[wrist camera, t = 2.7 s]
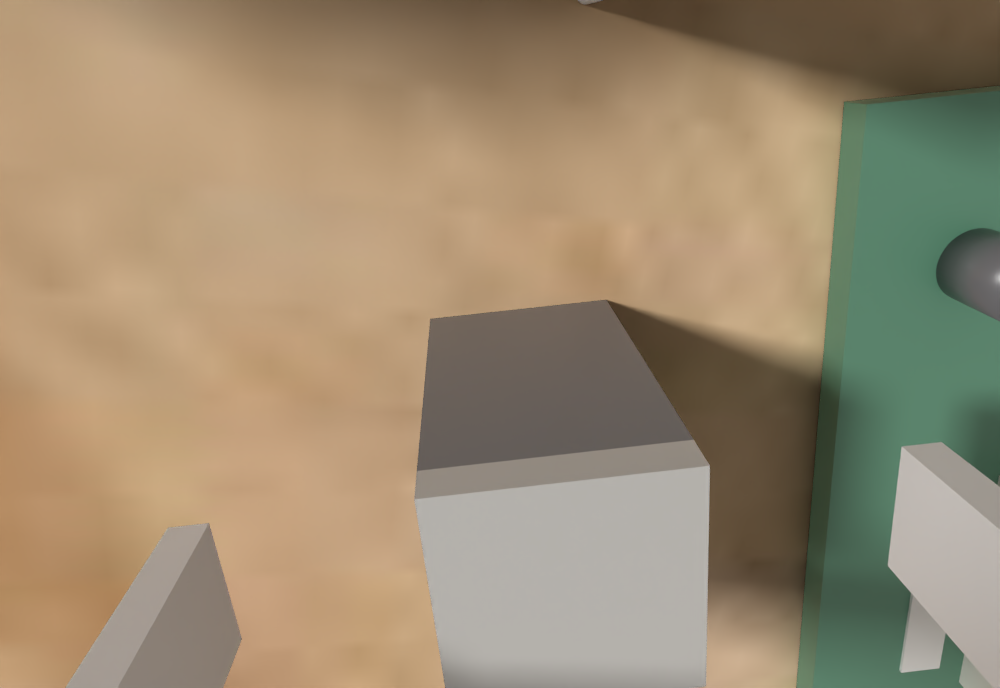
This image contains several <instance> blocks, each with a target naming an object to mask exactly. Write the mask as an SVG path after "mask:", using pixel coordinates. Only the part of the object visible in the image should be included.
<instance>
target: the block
mask: <svg viewBox="0 0 1000 688" xmlns="http://www.w3.org/2000/svg"><path fill="white" fill-rule="evenodd" d="M709 492H710V465H709V463H708V462H707V460H706V459H705V457H704V455H703V454H702V452H701V451H700V449H699V447H698V446H697V444H696V443H695V441H694V439H693V438H692V436H691V435H690V433H689V431H688V430H687V428H686V427H685V425H684V423H683V422H682V420H681V419H680V417H679V415H678V414H677V412H676V410H675V409H674V407H673V406H672V404H671V402H670V401H669V399H668V398H667V396H666V394H665V393H664V391H663V390H662V388H661V386H660V385H659V383H658V382H657V380H656V378H655V377H654V375H653V374H652V372H651V370H650V369H649V367H648V366H647V364H646V362H645V361H644V359H643V358H642V356H641V354H640V353H639V351H638V350H637V348H636V346H635V345H634V343H633V342H632V340H631V338H630V337H629V335H628V334H627V332H626V330H625V329H624V327H623V326H622V324H621V322H620V321H619V319H618V318H617V316H616V314H615V313H614V311H613V310H612V308H611V306H610V305H609V303H608V301H607V300H600V301H591V302H582V303H572V304H563V305H554V306H545V307H536V308H526V309H517V310H508V311H499V312H490V313H480V314H471V315H462V316H453V317H444V318H434V319H430V329H429V340H428V351H427V363H426V374H425V385H424V397H423V408H422V419H421V431H420V442H419V453H418V465H417V476H416V487H415V499H414V500H415V506H416V512H417V518H418V524H419V530H420V536H421V542H422V549H423V555H424V561H425V567H426V573H427V579H428V585H429V591H430V597H431V603H432V609H433V615H434V622H435V628H436V634H437V640H438V646H439V652H440V658H441V664H442V670H443V676H444V682H445V688H696V687H705V686H706V654H707V600H708V546H709Z"/></svg>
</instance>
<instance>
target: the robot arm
mask: <svg viewBox="0 0 1000 688" xmlns="http://www.w3.org/2000/svg"><path fill="white" fill-rule="evenodd" d="M888 567H889V568H890V569H891V570H892V571H893V573H894V574H895V575H896V576H897V577H898V578H899V580H900V581H901V582H902V583H903V584H904V585H905V586H906V588H907V589H908V590H909V591H910V592H911V593H912V595H913V596H914V597H915V598H916V599H917V600H918V601H919V603H920V604H921V605H922V606H923V607H924V608H925V610H926V611H927V612H928V613H929V614H930V615H931V616H932V618H933V619H934V620H935V621H936V622H937V623H938V625H939V626H940V627H941V628H942V629H943V630H944V631H945V633H946V634H947V635H948V636H949V637H950V638H951V640H952V641H953V642H954V643H955V644H956V645H957V647H958V648H959V649H960V650H961V651H962V652H963V653H964V655H965V656H966V657H967V658H968V659H969V660H970V662H971V663H972V664H973V665H974V666H975V667H976V668H977V670H978V671H979V672H980V673H981V674H982V675H983V677H984V678H985V679H986V680H987V681H988V682H989V683H990V685H991V686H992V687H993V688H1000V487H999V486H998V485H997V484H995V483H994V482H993V481H991V480H990V479H989V478H988V477H986V476H985V475H984V474H982V473H981V472H980V471H978V470H977V469H976V468H975V467H973V466H972V465H971V464H969V463H968V462H967V461H965V460H964V459H963V458H962V457H960V456H959V455H958V454H956V453H955V452H954V451H952V450H951V449H950V448H949V447H947V446H946V445H945V444H943V443H942V442H938V443H929V444H919V445H910V446H902V448H901V457H900V465H899V473H898V482H897V490H896V499H895V507H894V516H893V524H892V533H891V541H890V550H889V558H888ZM241 640H242V638H241V634H240V631H239V627H238V624H237V620H236V617H235V613H234V610H233V606H232V603H231V599H230V596H229V592H228V589H227V585H226V582H225V578H224V575H223V571H222V567H221V564H220V560H219V557H218V553H217V550H216V546H215V543H214V539H213V536H212V532H211V529H210V525H209V523H206V524H197V525H188V526H179V527H170V528H167V530H166V531H165V533H164V535H163V536H162V538H161V539H160V541H159V542H158V544H157V546H156V547H155V549H154V550H153V552H152V553H151V555H150V556H149V558H148V560H147V561H146V563H145V564H144V566H143V567H142V569H141V571H140V572H139V574H138V575H137V577H136V578H135V580H134V581H133V583H132V585H131V586H130V588H129V589H128V591H127V592H126V594H125V595H124V597H123V599H122V600H121V602H120V603H119V605H118V606H117V608H116V610H115V611H114V613H113V614H112V616H111V617H110V619H109V620H108V622H107V624H106V625H105V627H104V628H103V630H102V631H101V633H100V635H99V636H98V638H97V639H96V641H95V642H94V644H93V645H92V647H91V649H90V650H89V652H88V653H87V655H86V656H85V658H84V660H83V661H82V663H81V664H80V666H79V667H78V669H77V670H76V672H75V674H74V675H73V677H72V678H71V680H70V681H69V683H68V685H67V686H66V688H223V686H224V684H225V681H226V679H227V676H228V673H229V671H230V668H231V666H232V663H233V660H234V658H235V655H236V653H237V650H238V647H239V645H240V642H241Z"/></svg>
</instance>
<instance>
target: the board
mask: <svg viewBox="0 0 1000 688" xmlns="http://www.w3.org/2000/svg"><path fill="white" fill-rule="evenodd" d="M938 442H942V443H943V444H945V445H946V446H947V447H949V448H950V449H951V450H952V451H954V452H955V453H956V454H958V455H959V456H960V457H962V458H963V459H964V460H965V461H967V462H968V463H969V464H971V465H972V466H973V467H975V468H976V469H977V470H978V471H980V472H981V473H982V474H984V475H985V476H986V477H988V478H989V479H990V480H991V481H993V482H994V483H995V484H997V485H998V486H999V487H1000V86H991V87H981V88H972V89H962V90H952V91H943V92H933V93H924V94H914V95H904V96H895V97H885V98H875V99H866V100H856V101H847V102H844V110H843V122H842V135H841V147H840V159H839V171H838V184H837V196H836V208H835V220H834V233H833V245H832V257H831V269H830V282H829V294H828V306H827V318H826V331H825V343H824V355H823V367H822V380H821V392H820V404H819V416H818V429H817V441H816V453H815V465H814V478H813V490H812V502H811V514H810V527H809V539H808V551H807V563H806V576H805V588H804V600H803V612H802V625H801V637H800V649H799V661H798V674H797V686H796V688H993V687H992V686H991V685H990V683H989V682H988V681H987V680H986V679H985V678H984V677H983V675H982V674H981V673H980V672H979V671H978V670H977V668H976V667H975V666H974V665H973V664H972V663H971V662H970V660H969V659H968V658H967V657H966V656H965V655H964V653H963V652H962V651H961V650H960V649H959V648H958V647H957V645H956V644H955V643H954V642H953V641H952V640H951V638H950V637H949V636H948V635H947V634H946V633H945V631H944V630H943V629H942V628H941V627H940V626H939V625H938V623H937V622H936V621H935V620H934V619H933V618H932V616H931V615H930V614H929V613H928V612H927V611H926V610H925V608H924V607H923V606H922V605H921V604H920V603H919V601H918V600H917V599H916V598H915V597H914V596H913V595H912V593H911V592H910V591H909V590H908V589H907V588H906V586H905V585H904V584H903V583H902V582H901V581H900V580H899V578H898V577H897V576H896V575H895V574H894V573H893V571H892V570H891V569H890V568H889V567H888V558H889V550H890V541H891V533H892V524H893V516H894V507H895V499H896V490H897V482H898V473H899V465H900V457H901V448H902V446H910V445H919V444H929V443H938Z"/></svg>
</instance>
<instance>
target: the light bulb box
mask: <svg viewBox="0 0 1000 688" xmlns="http://www.w3.org/2000/svg"><path fill="white" fill-rule="evenodd" d="M578 1H579V3H582V4H584V5H586V4H591V3H595V2H598V1H602V0H578Z"/></svg>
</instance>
